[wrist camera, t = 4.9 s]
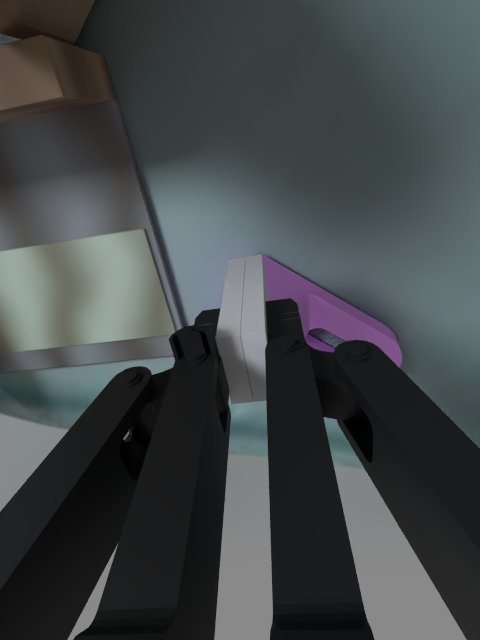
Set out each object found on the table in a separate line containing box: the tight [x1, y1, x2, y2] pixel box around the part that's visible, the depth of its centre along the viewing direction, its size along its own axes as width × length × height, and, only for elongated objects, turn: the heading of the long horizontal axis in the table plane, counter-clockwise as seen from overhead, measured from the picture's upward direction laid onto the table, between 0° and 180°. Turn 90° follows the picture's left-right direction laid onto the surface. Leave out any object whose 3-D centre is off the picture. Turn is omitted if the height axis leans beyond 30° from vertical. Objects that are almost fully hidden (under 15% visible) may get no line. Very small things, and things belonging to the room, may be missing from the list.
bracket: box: [259, 253, 402, 368], centre depth 23 cm, size 13×6×7 cm, turn 61°
